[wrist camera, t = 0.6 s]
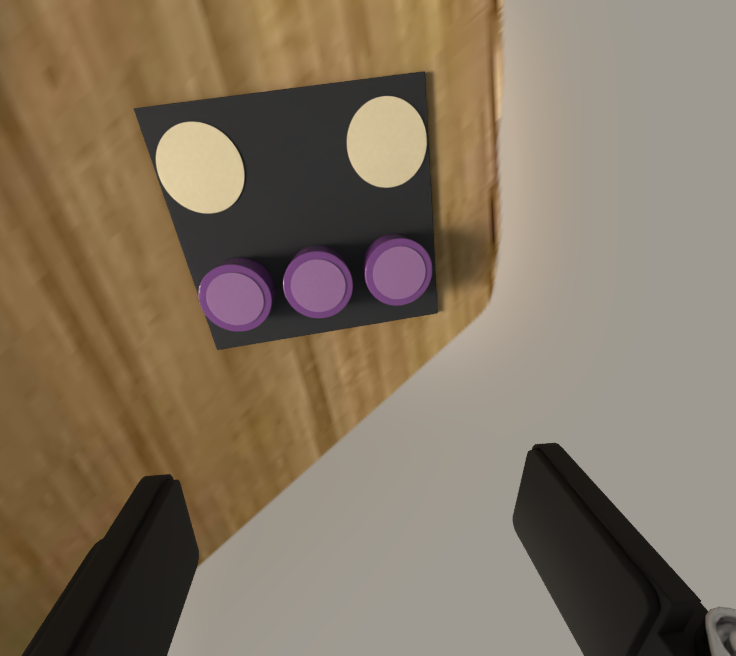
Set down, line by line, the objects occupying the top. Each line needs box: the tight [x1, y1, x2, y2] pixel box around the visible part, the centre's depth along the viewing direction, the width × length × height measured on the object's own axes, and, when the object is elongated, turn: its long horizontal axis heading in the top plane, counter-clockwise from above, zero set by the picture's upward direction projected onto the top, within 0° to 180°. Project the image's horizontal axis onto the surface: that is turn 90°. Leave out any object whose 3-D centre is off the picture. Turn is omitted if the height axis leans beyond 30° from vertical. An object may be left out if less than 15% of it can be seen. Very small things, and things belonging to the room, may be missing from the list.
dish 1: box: [198, 258, 276, 331], centre depth 33 cm, size 6×6×3 cm
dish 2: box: [283, 245, 353, 318], centre depth 33 cm, size 6×6×3 cm
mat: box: [134, 72, 438, 350], centre depth 33 cm, size 22×24×1 cm
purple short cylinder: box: [362, 234, 432, 305], centre depth 33 cm, size 6×6×3 cm
